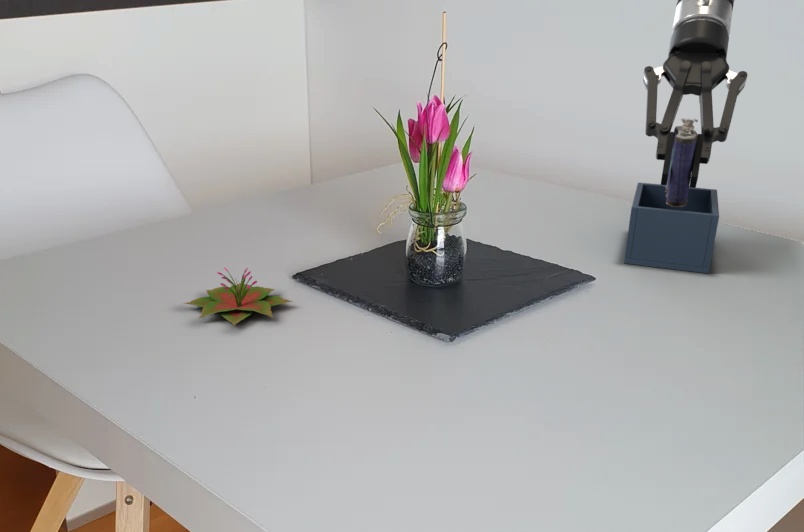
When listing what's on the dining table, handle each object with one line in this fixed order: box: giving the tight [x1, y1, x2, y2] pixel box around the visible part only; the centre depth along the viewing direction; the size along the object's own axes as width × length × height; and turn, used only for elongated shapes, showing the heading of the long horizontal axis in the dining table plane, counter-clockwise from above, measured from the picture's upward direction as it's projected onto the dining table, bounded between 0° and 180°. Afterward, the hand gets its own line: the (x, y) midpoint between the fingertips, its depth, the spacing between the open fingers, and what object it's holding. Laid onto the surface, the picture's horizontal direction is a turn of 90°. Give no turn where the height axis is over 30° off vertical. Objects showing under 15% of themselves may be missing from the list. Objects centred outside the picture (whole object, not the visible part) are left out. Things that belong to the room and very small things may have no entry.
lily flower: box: [183, 267, 293, 326], centre depth 96 cm, size 12×12×5 cm
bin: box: [623, 182, 720, 274], centre depth 114 cm, size 11×14×8 cm
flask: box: [665, 118, 699, 207], centre depth 111 cm, size 9×3×11 cm, turn 162°
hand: (679, 180), depth 108 cm, fingers closed on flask, 3 cm apart
